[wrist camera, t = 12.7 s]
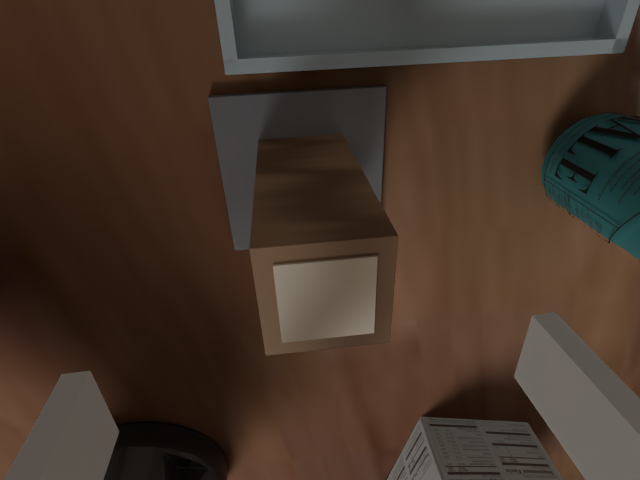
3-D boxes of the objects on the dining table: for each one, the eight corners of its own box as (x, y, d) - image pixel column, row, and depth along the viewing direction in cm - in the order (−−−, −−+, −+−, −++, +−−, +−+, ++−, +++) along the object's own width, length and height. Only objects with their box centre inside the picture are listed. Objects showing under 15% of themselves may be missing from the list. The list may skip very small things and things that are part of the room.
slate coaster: (235, 246, 27) (234, 250, 27) (209, 95, 22) (207, 97, 22) (377, 233, 28) (379, 237, 28) (383, 84, 23) (386, 87, 22)
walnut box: (267, 215, 26) (265, 357, 16) (258, 139, 23) (249, 250, 13) (343, 209, 26) (390, 344, 16) (342, 133, 24) (398, 237, 13)
